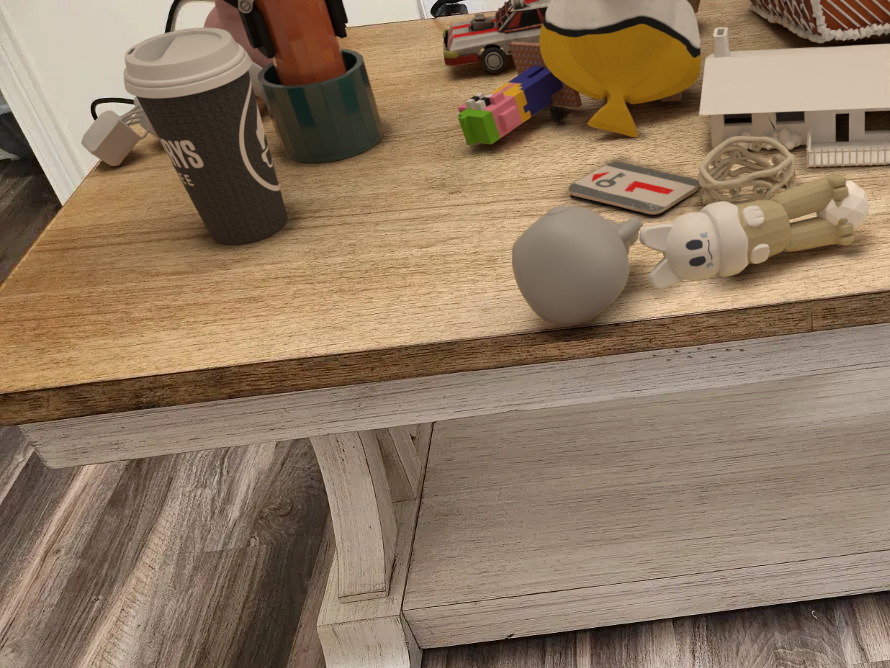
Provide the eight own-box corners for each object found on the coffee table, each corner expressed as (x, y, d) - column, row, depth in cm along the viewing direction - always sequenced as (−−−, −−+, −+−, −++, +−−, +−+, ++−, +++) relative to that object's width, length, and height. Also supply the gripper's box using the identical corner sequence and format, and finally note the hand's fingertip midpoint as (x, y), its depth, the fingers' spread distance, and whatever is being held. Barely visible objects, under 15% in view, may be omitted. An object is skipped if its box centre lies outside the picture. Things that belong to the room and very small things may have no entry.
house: (695, 187, 94) (686, 100, 89) (720, 79, 111) (714, 1, 106) (995, 177, 92) (1004, 87, 86) (974, 68, 108) (980, -12, 103)
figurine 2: (566, 45, 104) (480, 101, 97) (582, 104, 108) (500, 162, 101) (512, 41, 107) (426, 95, 101) (530, 99, 111) (448, 154, 105)
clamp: (283, 93, 116) (254, 27, 111) (298, 102, 114) (268, 35, 109) (99, 175, 109) (59, 107, 104) (111, 186, 107) (70, 118, 102)
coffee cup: (233, 196, 100) (164, 22, 89) (326, 203, 97) (266, 24, 87) (168, 249, 93) (85, 67, 83) (266, 257, 91) (193, 71, 81)
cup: (296, 104, 101) (261, -1, 95) (275, 86, 104) (240, -16, 98) (358, 86, 103) (328, -18, 97) (336, 68, 107) (305, -33, 101)
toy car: (447, 55, 122) (429, -19, 116) (609, 32, 123) (599, -43, 118) (448, 81, 116) (429, 4, 111) (618, 56, 118) (608, -21, 112)
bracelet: (686, 146, 92) (708, 185, 86) (777, 124, 93) (806, 162, 87) (693, 191, 95) (715, 232, 89) (782, 170, 96) (810, 209, 90)
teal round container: (302, 172, 103) (276, 96, 98) (270, 140, 109) (244, 67, 104) (399, 141, 106) (378, 67, 101) (362, 112, 112) (341, 40, 107)
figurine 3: (627, 164, 82) (553, 195, 72) (688, 249, 84) (624, 291, 74) (556, 227, 87) (477, 264, 77) (615, 307, 88) (545, 354, 78)
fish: (562, -135, 96) (731, -92, 99) (552, -56, 108) (702, -20, 111) (532, 86, 95) (703, 123, 98) (526, 140, 107) (678, 172, 110)
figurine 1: (322, 94, 116) (282, -30, 108) (214, 107, 115) (166, -16, 107) (332, 64, 122) (296, -56, 114) (231, 76, 122) (187, -43, 114)
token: (654, 212, 90) (561, 187, 95) (654, 217, 90) (561, 192, 95) (705, 180, 94) (614, 157, 99) (705, 185, 95) (614, 162, 99)
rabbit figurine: (886, 240, 83) (663, 302, 79) (831, 226, 92) (626, 282, 88) (877, 166, 81) (647, 227, 77) (821, 159, 90) (610, 213, 85)
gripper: (129, -160, 83) (221, 82, 96) (347, -203, 90) (407, 29, 102) (107, -173, 88) (197, 59, 100) (316, -213, 94) (377, 10, 107)
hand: (302, 42), depth 101 cm, fingers closed on cup, 6 cm apart
